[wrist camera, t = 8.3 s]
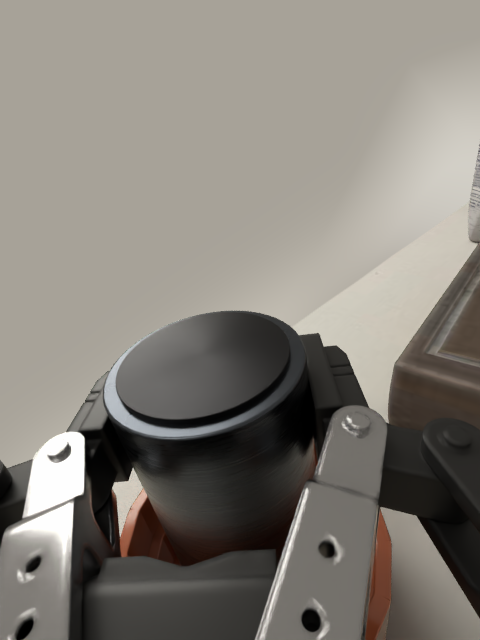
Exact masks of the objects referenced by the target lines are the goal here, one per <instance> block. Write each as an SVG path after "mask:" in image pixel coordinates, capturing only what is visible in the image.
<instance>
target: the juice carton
mask: <svg viewBox="0 0 480 640" xmlns="http://www.w3.org/2000/svg"><path fill="white" fill-rule="evenodd" d="M468 235H469V239H470V240H471V241H476V242H480V146H479V151H478V156H477V163H476V168H475V174H474V180H473V186H472V191H471V198H470V203H469V211H468Z"/></svg>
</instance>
